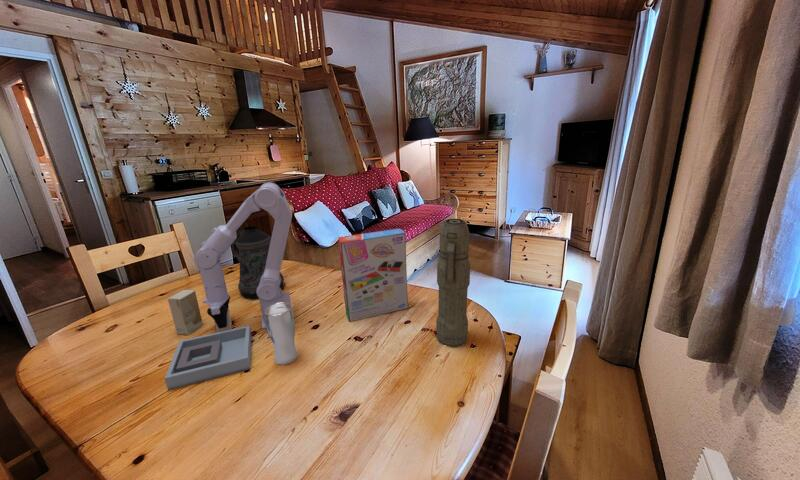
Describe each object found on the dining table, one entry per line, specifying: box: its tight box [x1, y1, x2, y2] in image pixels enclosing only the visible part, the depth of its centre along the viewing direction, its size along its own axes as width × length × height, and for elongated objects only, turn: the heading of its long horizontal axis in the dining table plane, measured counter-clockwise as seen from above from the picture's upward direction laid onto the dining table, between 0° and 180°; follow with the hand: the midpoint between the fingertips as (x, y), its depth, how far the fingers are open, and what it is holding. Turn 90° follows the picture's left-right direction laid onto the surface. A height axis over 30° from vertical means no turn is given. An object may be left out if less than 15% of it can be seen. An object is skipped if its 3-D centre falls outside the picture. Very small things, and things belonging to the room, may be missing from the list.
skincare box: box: [167, 289, 204, 336], centre depth 101 cm, size 6×4×12 cm
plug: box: [214, 306, 233, 333], centre depth 101 cm, size 4×4×7 cm
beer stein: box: [231, 226, 285, 301], centre depth 123 cm, size 16×19×25 cm
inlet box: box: [164, 325, 253, 391], centre depth 88 cm, size 18×16×4 cm
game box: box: [337, 228, 409, 323], centre depth 105 cm, size 21×6×27 cm, turn 110°
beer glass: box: [265, 302, 299, 366], centre depth 86 cm, size 7×7×15 cm
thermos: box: [435, 218, 471, 348], centre depth 89 cm, size 9×12×35 cm
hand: (223, 323), depth 102 cm, fingers closed on plug, 4 cm apart
